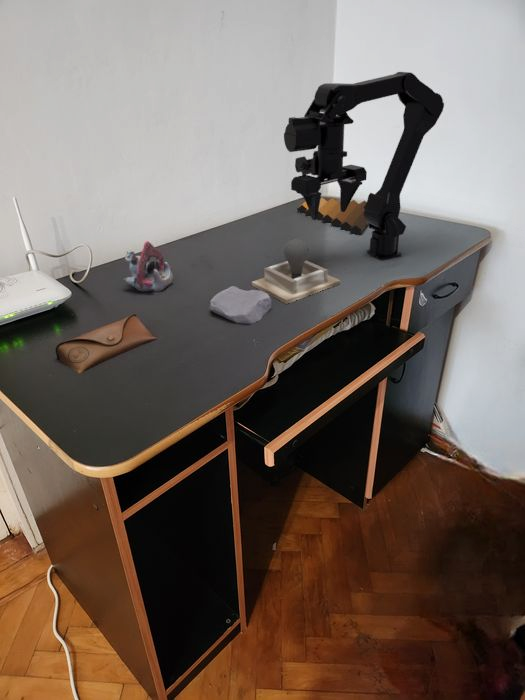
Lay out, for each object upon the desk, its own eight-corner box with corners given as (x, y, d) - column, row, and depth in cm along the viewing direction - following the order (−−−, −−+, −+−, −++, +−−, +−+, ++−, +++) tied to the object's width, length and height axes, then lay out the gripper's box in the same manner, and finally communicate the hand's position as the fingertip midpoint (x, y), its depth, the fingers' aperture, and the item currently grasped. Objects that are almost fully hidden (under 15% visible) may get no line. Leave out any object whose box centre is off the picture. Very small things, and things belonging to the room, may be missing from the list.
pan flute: (361, 237, 152) (380, 212, 172) (361, 225, 151) (380, 201, 170) (280, 229, 161) (306, 206, 181) (280, 218, 159) (307, 196, 179)
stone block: (253, 334, 109) (275, 306, 116) (248, 316, 106) (272, 288, 113) (206, 324, 115) (230, 298, 121) (200, 306, 112) (225, 280, 118)
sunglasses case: (78, 375, 95) (62, 341, 94) (66, 379, 101) (51, 347, 100) (161, 337, 106) (146, 306, 105) (146, 343, 111) (132, 313, 111)
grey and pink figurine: (164, 289, 120) (130, 245, 117) (136, 310, 126) (103, 269, 124) (188, 270, 129) (156, 229, 126) (160, 291, 135) (130, 252, 133)
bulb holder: (304, 268, 133) (304, 252, 131) (340, 284, 124) (340, 268, 122) (252, 285, 125) (251, 269, 123) (286, 304, 116) (286, 287, 114)
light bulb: (303, 274, 127) (303, 234, 122) (312, 283, 123) (312, 242, 118) (281, 278, 126) (280, 237, 121) (289, 287, 121) (289, 245, 116)
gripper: (336, 136, 129) (334, 201, 137) (275, 148, 120) (277, 216, 128) (370, 142, 121) (365, 210, 129) (307, 155, 112) (307, 227, 120)
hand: (328, 215), depth 127 cm, fingers open, 9 cm apart
